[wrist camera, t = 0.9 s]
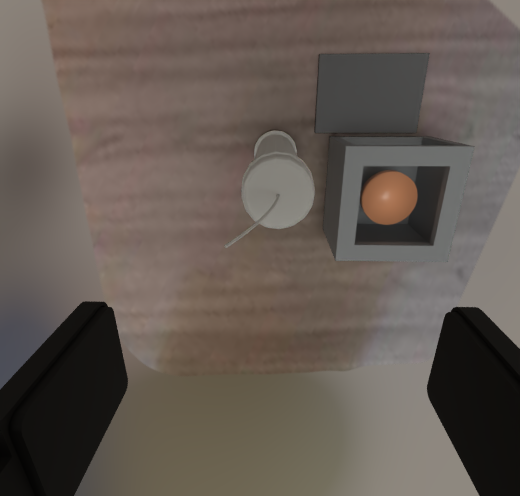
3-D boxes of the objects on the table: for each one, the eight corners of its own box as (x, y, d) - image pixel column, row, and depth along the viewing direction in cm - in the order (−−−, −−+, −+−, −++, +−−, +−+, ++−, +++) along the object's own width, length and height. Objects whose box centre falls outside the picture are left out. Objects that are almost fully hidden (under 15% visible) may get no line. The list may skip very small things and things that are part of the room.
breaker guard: (329, 136, 45) (346, 146, 35) (429, 136, 45) (474, 146, 35) (322, 228, 51) (335, 260, 40) (412, 229, 50) (447, 261, 40)
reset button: (359, 167, 43) (366, 172, 40) (412, 167, 42) (422, 172, 40) (354, 217, 45) (359, 224, 42) (403, 217, 45) (412, 224, 42)
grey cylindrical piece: (302, 159, 47) (345, 243, 19) (261, 180, 48) (246, 286, 20) (285, 121, 45) (305, 152, 17) (242, 143, 46) (199, 205, 19)
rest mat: (319, 54, 42) (319, 54, 41) (427, 54, 41) (429, 53, 41) (314, 132, 45) (315, 132, 45) (414, 132, 45) (416, 132, 44)
